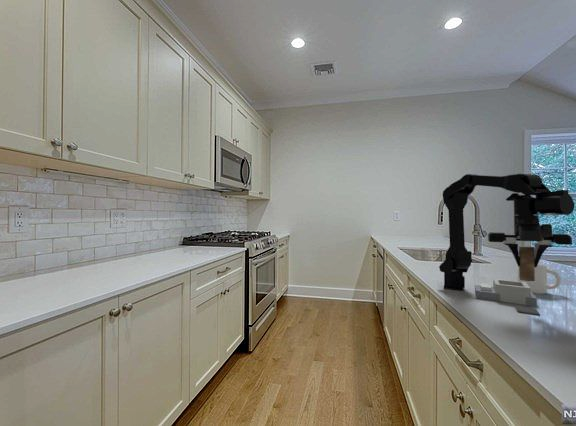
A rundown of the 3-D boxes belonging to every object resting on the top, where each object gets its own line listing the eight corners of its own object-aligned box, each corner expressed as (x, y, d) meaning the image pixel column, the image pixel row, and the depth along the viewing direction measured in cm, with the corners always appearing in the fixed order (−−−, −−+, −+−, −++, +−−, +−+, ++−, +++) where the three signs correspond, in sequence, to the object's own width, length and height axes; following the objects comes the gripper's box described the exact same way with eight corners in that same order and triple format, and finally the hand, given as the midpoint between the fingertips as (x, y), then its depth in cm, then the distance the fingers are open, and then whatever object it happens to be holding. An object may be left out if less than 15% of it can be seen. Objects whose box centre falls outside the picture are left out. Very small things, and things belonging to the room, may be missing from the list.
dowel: (520, 280, 83) (520, 247, 83) (518, 278, 86) (518, 245, 86) (536, 281, 81) (535, 247, 82) (533, 279, 84) (532, 246, 85)
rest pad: (517, 312, 82) (517, 310, 82) (515, 307, 87) (515, 306, 87) (540, 315, 80) (540, 314, 80) (536, 310, 84) (536, 309, 84)
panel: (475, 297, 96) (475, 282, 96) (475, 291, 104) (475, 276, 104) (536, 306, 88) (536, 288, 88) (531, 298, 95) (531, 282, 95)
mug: (560, 292, 102) (560, 264, 102) (561, 297, 96) (561, 268, 96) (518, 286, 110) (518, 261, 110) (517, 291, 104) (517, 264, 104)
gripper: (490, 215, 82) (491, 268, 82) (578, 215, 72) (579, 274, 72) (487, 215, 92) (488, 262, 91) (564, 214, 82) (565, 267, 82)
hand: (526, 266), depth 84 cm, fingers closed on dowel, 3 cm apart
